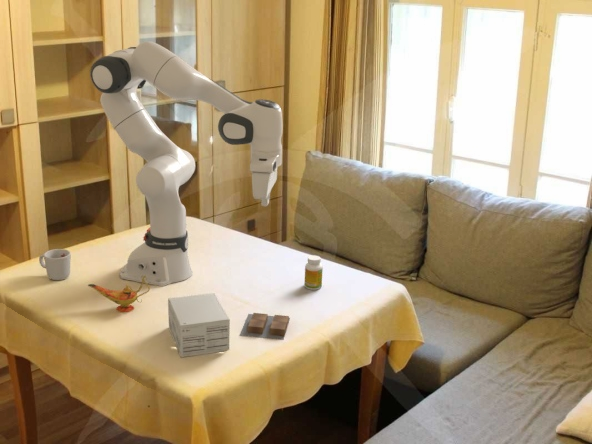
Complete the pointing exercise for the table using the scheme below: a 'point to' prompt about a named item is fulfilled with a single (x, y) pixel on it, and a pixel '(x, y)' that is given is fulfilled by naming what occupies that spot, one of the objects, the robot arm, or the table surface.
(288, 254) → the table surface
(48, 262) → the cup
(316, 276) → the supplement bottle
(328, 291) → the table surface
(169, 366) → the table surface
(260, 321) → the left walnut tile
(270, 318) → the slate rubber mat
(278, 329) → the right walnut tile
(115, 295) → the magic lamp
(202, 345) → the supplement box
